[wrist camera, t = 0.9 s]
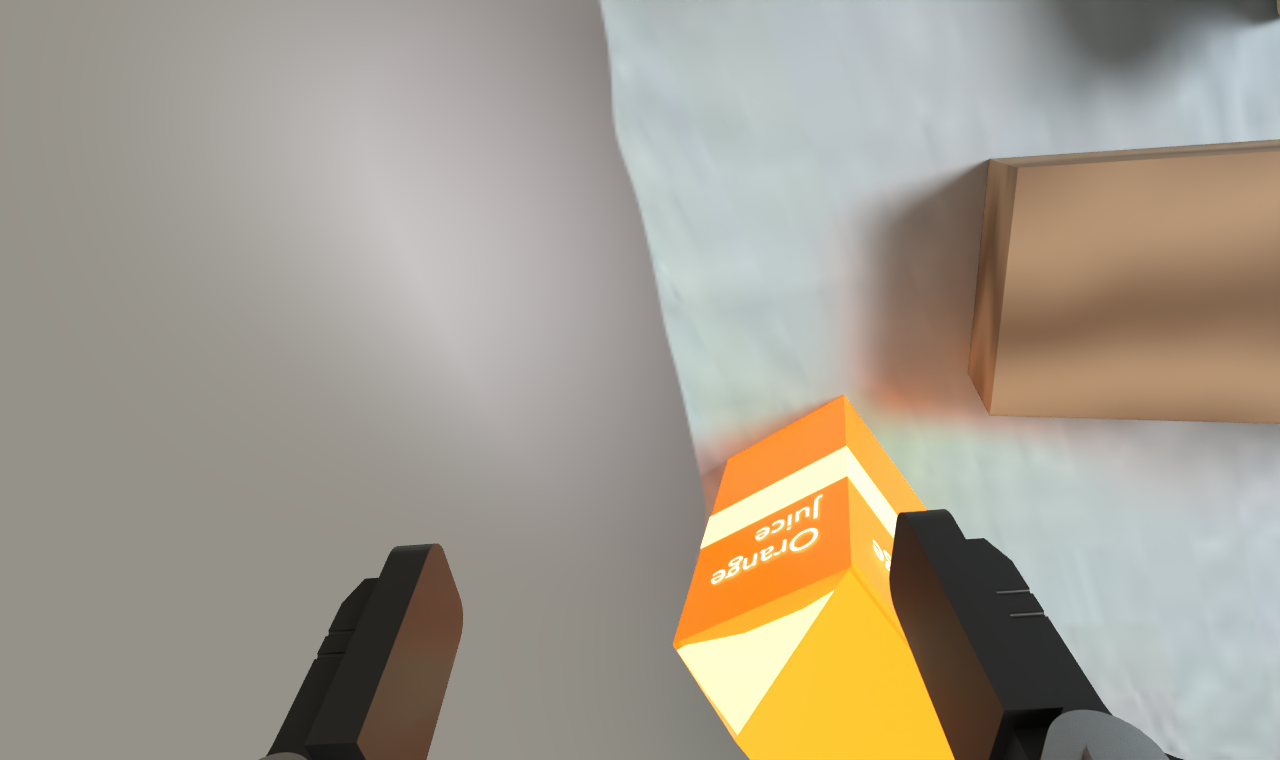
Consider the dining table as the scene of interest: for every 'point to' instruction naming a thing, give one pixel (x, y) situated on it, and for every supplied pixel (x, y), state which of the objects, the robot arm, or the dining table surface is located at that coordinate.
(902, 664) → the orange juice
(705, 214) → the dining table surface
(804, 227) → the dining table surface
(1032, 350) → the tower base
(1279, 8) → the toy table
